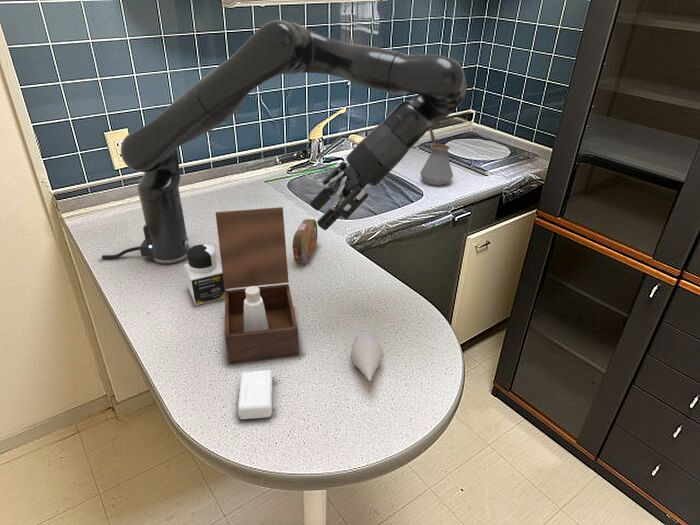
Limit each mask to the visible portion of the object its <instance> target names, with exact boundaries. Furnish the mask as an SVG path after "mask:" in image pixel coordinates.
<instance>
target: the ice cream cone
mask: <svg viewBox="0 0 700 525" xmlns="http://www.w3.org/2000/svg"><path fill="white" fill-rule="evenodd" d="M383 357H384V350H383V348H382V346H381V344H380V342H379V341H378V339H377V337H376V335H375V334H374V333H372V332H371V331H367V330H364V331H363V330H362V331H360V332H358V333H357V334H356V335H355V337H354V340H353V344H352V347H351V350H350V359H351V361H352V363H353V364H354V365H355V367H357V369H358V370H359V371H360V372H361V373H362V374H363V375H364V377H365V378H366V379H367V380H368V381H369V382H371V380H372V378H373V376H374V375H375V372H376V370H377V369H378V367H379V365H380V364H381V362H382V360H383Z"/></svg>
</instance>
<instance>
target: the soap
mask: <svg viewBox="0 0 700 525" xmlns="http://www.w3.org/2000/svg"><path fill="white" fill-rule="evenodd" d="M237 404H238V405H237V414H238V417H239V419H240V420H250V419H251V420H252V419H264V418H265V419H266V418H270V417H272V414H273V372H272V371H271V370H269V369H266V370H255V371H254V370H253V371H243V372H242V373H241V375H240V382H239V394H238V403H237Z"/></svg>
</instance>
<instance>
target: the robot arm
mask: <svg viewBox="0 0 700 525" xmlns="http://www.w3.org/2000/svg"><path fill="white" fill-rule="evenodd" d="M300 73H301V74H302V73H303V74H322V75H328V76H333V77H336V78H340V79H343V80H346V81H347V82H351V83H352V84H356V85H359V86H361V87H363V88H364V87H365V88H366V89H371V90H375V91H379V92H382V93H388V94H391V95H397V96H405V95H407V94H408V93H409V94H415V96H414V97H413V98H412V99H410V100H404V101H401V102H400V103H399V104H398V105H396V106H395V107H394V109H393V110H391V112H389V114H388V115H387V116H386V117H385V118H384V119H383V120H382V121H381V122H380V123H378V124H377V125H376V126H375V127H374V128H372V130H370V131H369V133H367V135H365V136H364V137H363V138H362V140H361V141H359V143H358V144H357V145H356V146H355V147H354V148H353V149H352V150H351V151H350V153H349V154H347V155H346V161H347V163H346V162H345V161H342V162H341V163H340V164H339V165H337V167H336V168H334V169H333V170H332V171H331V173H330V174H329V175H327V177H325V179H324V180H323V181H322V184H323V186H322V187H321V190H320V192H318V194H317V195H316V196H314V198H313V199H312V200H311V201H310V202H309V205H310V206H311V208H313V209H314V210H315V211H320V210H321V209H322V208H323V207H324V206H325V205H326V204H327V203H328V202H329V201H330V200H331V198H332V197H334V202H333V204H332V206H331V207H330V208H328V210H327V211H326V212H325V213H324V214H323V215H322V216H321V217H320V218H319V219H318V220H317V221H316V223H317V227H319V228H320V229H322V230H323V231H327V230H328V229H329V228H330V227H331V226H333V225H334V223H335V222H336V221H337V220H338V219H339V218H343V219H344V220H347V219H349V218H350V217H351V215H353V213H354V212H355V211H356V210H357V209H358V208H359V207H360V206H361V205H362V204H363V203H364V202H365V201H366V200H367V199H368V197H369V193H368V192H366V190H365V188H366V186H367V185H370V186H372V187H377V186H378V185H379V183H380V182H382V180H383V179H385V177H386V176H387V175H388V174H389V173H390V172H391V171H392V170H393V169H394V168H395V167H396V166H398V164H399V163H400V162H401V161H402V160H403V159H404V157H405V156H406V155H407V153H408V152H409V151H410V150H411V149H412V148H414V146H415V145H416V144H417V143H418V142H419V141H420V140H421V139H422V138H423V137H424V135H426V133H428V132H429V131H430V130H429V129H432V128H434V127H435V126H436V125H438V124H439V123H440V122H442V121H443V120H444V119H446V118H447V117H448V116H450V115H451V114H452V113H453V112H455V110H456V109H457V108H458V107H459V106H460V105H461V104H462V103H463V101H464V99H465V97H466V95H467V91H468V84H467V79H466V74H465V71H464V68H463V66H462V65H461V63H459V62H458V61H457V60H455V59H453V58H451V57H447V56H444V55H440V54H421V53H420V54H407V53H403V52H400V51H395V50H390V49H386V48H381V47H377V46H369V45H362V44H355V43H349V42H344V41H339V40H336V39H332V38H330V37H327V36H324V35H322V34H320V33H317V32H315V31H314V30H313V31H312V30H311V29H308V28H306V27H304V26H302V25H301V24H299V23H297V22H293V21H287V20H281V19H276V20H271V21H270V20H269V21H268V22H265V23H264V24H263V25H262V26H261V27H259V28H258V29H257V30H256V31H255V32H254V33H253V34H252V35H251V36H250V37H249V38H248V39H247V41H245V42H244V43H243V45H241V46H240V47H239V49H237V50H236V51H235V53H234V54H232V55H231V56H230V57H229V58H227V59H226V60H225V61H223V62H222V63H220V64H219V65H218V66H217V67H215V68H213V70H211V71H210V72H208V74H206V75H204V76H203V77H202V78H200V79H199V80H198V81H196V82H195V83H194V84H192V86H190V87H189V88H188V89H185V91H184V92H183V93H182V94H181V95H180V96H178V97H177V98H176V99H175V100H174V101H173V102H172V103H170V104H169V105H168V107H166V108H165V109H164V110H163V111H162V112H161V113H160V114H159V115H158V116H157V117H155V118H154V119H153V120H151V121H150V122H148V123H147V124H145V125H143V126H141V127H140V128H138V129H137V130H135V131H132V132H131V133H129V134H128V135H126V136H125V138H123V140H122V142H121V146H120V155H121V159H122V161H123V163H124V164H125V166H127V167H128V168H129V169H131V170H133V171H135V172H138V173H144V174H143V176H142V178H141V179H140V181H139V183H138V184H137V192H138V196H139V201H140V206H141V210H142V214H143V215H142V216H143V219H144V220H143V221H144V223H145V224H144V226H143V227H142V231H143V235H144V240H143V241H142V242H141V244H140V245H139V246H135V247H130V248H127V249H124V250H122V251H121V252H118V253H116V254H111V255H110V254H102V255H101V258H102V259H104V260H105V259H108V260H110V259H111V260H113V259H118V258H120V257H122V256H125V254H127V253H132V252H135V251H139V252H140V256H141V257H149V258H148V259H149V261H150V262H156V263H157V264H162V265H171V264H175V263H179V262H182V261H185V260H186V259H188V257H187V251H188V250H189V249H190V244H189V241H190V240H189V237H188V235H187V234H188V233H187V228H186V222H185V216H184V211H183V206H182V199H181V193H180V187H179V185H180V181H181V171H180V170H181V169H180V161H179V153H178V148H180V147H182V146H184V145H185V144H187V143H188V144H189V143H190V142H192V141H194V140H196V139H198V138H200V137H202V136H204V135H206V134H207V133H209V132H211V131H213V130H215V129H216V128H218V127H219V126H220V125H222V124H223V123H225V122H226V121H227V120H229V119H230V118H231V117H233V116H234V115H235V114H236V113H237V112H238V110H240V108H241V106H242V105H243V103H244V101H245V99H247V96H248V95H249V94H250V93H251V92H252V91H253V90H254V89H256V88H258V87H259V86H261V85H262V84H265V82H267V81H269V80H271V79H273V78H275V77H277V76H279V75H280V76H281V75H296V74H300ZM348 164H349V165H348Z"/></svg>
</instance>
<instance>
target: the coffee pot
mask: <svg viewBox="0 0 700 525" xmlns="http://www.w3.org/2000/svg"><path fill="white" fill-rule="evenodd" d="M427 133H428V134H430V139H431V142H432V144H431V145H430V149H431V152H430V154H429V156H428V158H427V160H426V161H425V163H424V165H423V167H422V169H421V171H420V173H419V174H420V177H421V179H422V180H423V181H424V183H426V184H427V185H430V186H437V187H438V186H439V187H440V186H445V185H447V183H449V182H450V181H452V179H453V177H454V174H453V170H452V167H451V164H450V160H449V157H448V154H447V153H448V151H449V150H450V146H449V145H446V144H443V143H436V138H435V135H434V129H432V128H431V129H429V130H428V131H427Z"/></svg>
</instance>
